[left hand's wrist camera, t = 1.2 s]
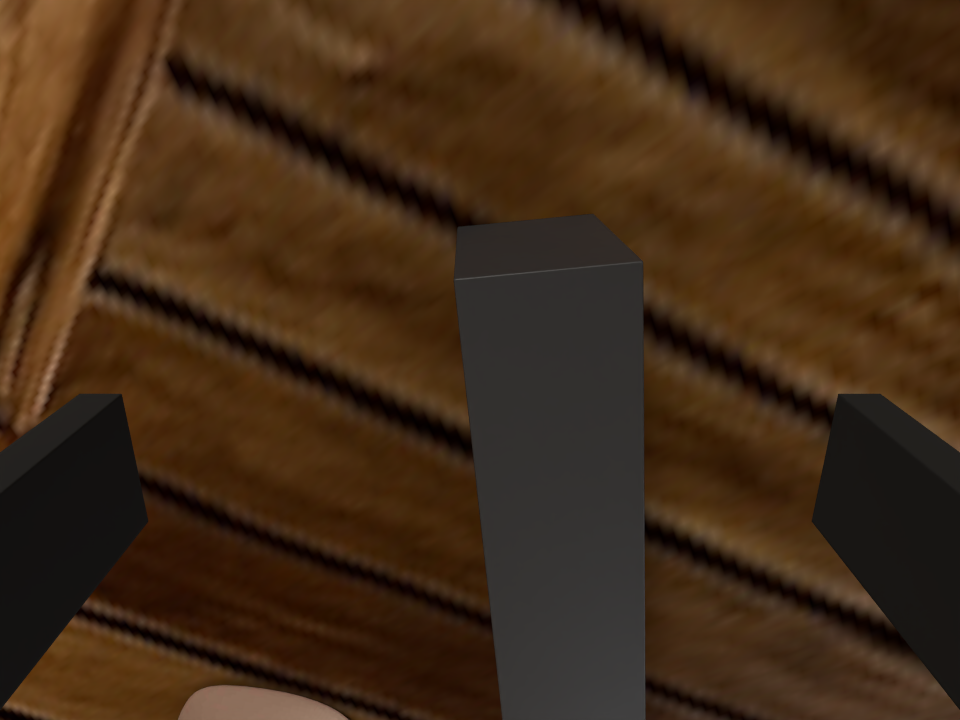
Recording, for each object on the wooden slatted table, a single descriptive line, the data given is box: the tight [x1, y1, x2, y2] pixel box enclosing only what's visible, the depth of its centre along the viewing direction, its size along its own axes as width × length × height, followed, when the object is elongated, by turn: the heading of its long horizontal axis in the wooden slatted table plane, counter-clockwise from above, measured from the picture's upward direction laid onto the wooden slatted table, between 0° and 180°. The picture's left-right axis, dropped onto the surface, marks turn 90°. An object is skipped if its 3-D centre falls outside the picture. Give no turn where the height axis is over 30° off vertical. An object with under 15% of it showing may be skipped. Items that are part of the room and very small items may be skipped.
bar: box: [454, 214, 645, 720], centre depth 27 cm, size 23×5×8 cm, turn 5°
